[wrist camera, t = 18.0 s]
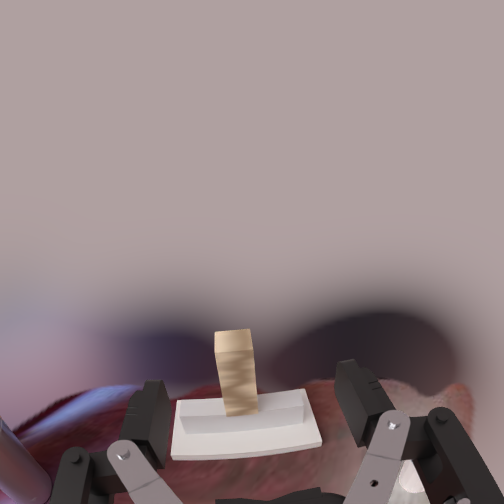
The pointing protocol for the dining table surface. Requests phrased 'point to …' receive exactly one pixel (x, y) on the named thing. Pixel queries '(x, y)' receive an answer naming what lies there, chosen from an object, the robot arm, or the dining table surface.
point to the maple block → (236, 372)
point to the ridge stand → (244, 428)
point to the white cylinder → (410, 478)
